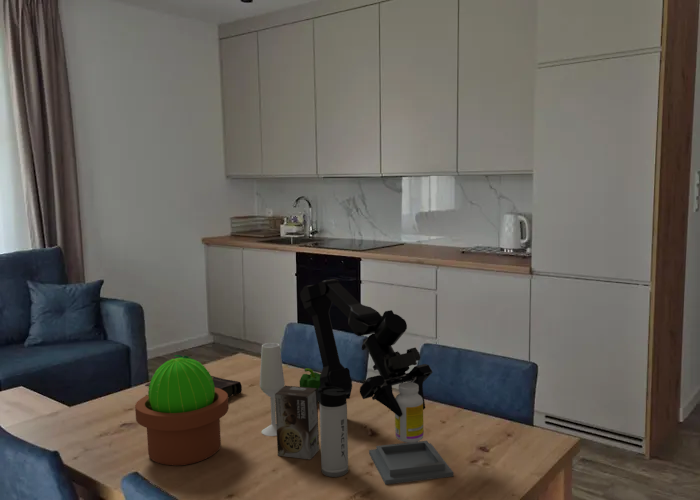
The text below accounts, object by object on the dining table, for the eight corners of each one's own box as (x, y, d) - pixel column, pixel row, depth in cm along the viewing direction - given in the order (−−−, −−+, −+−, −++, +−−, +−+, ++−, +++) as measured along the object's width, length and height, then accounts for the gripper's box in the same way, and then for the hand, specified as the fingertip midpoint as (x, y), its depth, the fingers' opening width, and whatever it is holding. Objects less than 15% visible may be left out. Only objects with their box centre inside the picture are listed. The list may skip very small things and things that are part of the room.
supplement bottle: (428, 435, 148) (428, 383, 146) (414, 446, 143) (414, 392, 141) (404, 429, 152) (403, 378, 150) (390, 439, 146) (389, 387, 145)
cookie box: (320, 449, 157) (318, 387, 155) (310, 460, 151) (308, 396, 149) (287, 445, 160) (285, 384, 158) (276, 455, 154) (274, 392, 152)
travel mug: (319, 465, 148) (317, 384, 146) (347, 464, 149) (345, 383, 146) (320, 478, 142) (318, 393, 140) (349, 476, 142) (347, 392, 140)
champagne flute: (290, 428, 171) (287, 343, 168) (278, 437, 165) (274, 349, 162) (270, 424, 174) (266, 340, 171) (256, 433, 168) (253, 347, 165)
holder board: (385, 484, 138) (385, 473, 138) (369, 453, 154) (368, 444, 154) (453, 476, 141) (453, 465, 141) (430, 447, 157) (430, 437, 157)
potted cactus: (186, 478, 143) (180, 373, 140) (120, 459, 154) (113, 361, 151) (246, 442, 162) (242, 349, 159) (184, 427, 173) (179, 340, 170)
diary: (187, 383, 214) (187, 368, 213) (242, 395, 200) (241, 380, 200) (143, 399, 198) (142, 383, 197) (199, 413, 185) (198, 397, 184)
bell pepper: (332, 398, 194) (331, 366, 192) (317, 406, 187) (316, 374, 186) (310, 393, 198) (310, 363, 197) (295, 401, 191) (294, 370, 190)
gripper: (366, 344, 142) (396, 405, 135) (427, 331, 153) (459, 387, 145) (347, 369, 150) (375, 428, 142) (407, 355, 160) (436, 409, 153)
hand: (412, 412), depth 145 cm, fingers closed on supplement bottle, 7 cm apart
